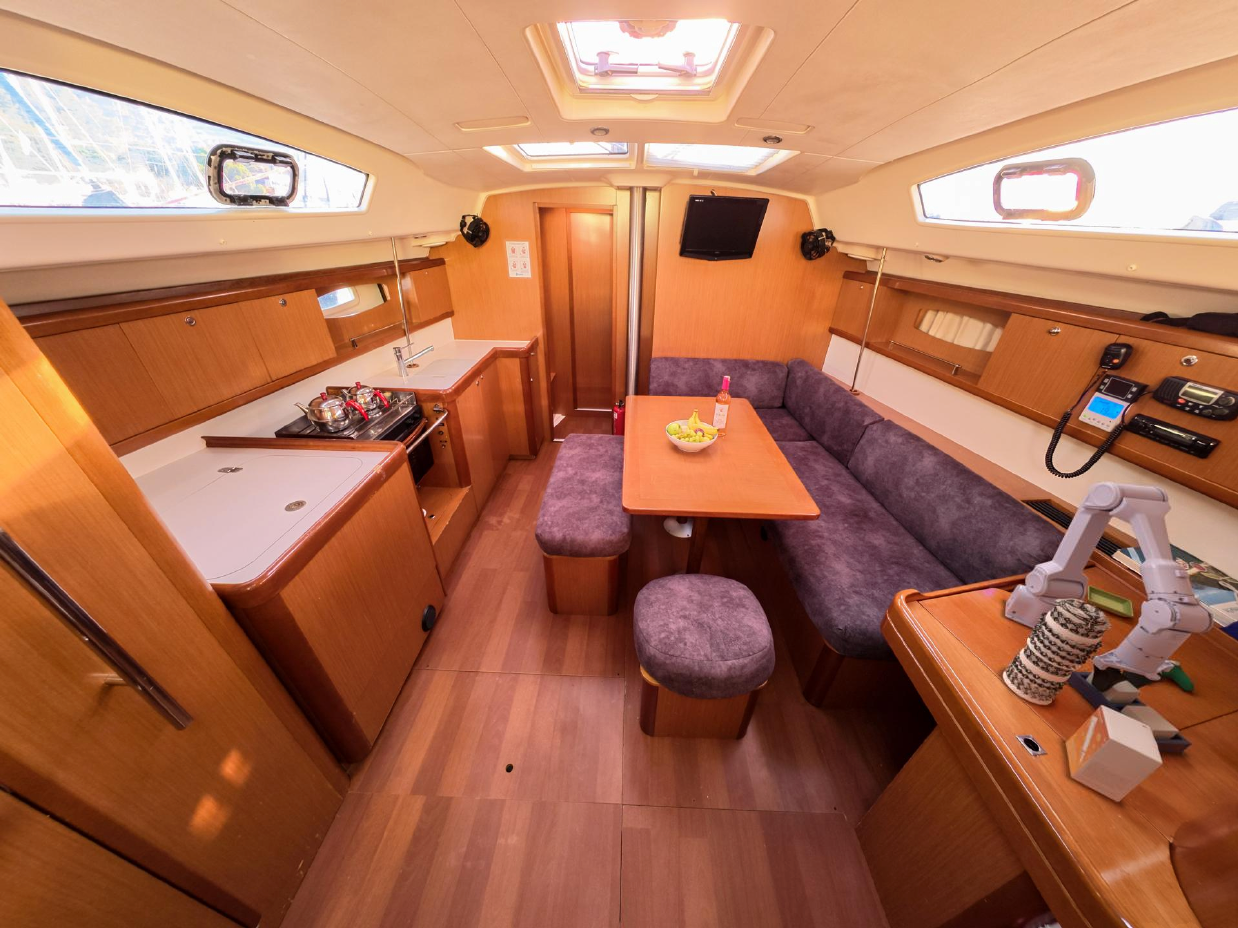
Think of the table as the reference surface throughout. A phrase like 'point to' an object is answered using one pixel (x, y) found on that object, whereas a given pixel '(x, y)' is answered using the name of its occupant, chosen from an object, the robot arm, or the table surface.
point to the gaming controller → (1179, 676)
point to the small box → (1112, 753)
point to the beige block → (1151, 721)
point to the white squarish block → (1118, 692)
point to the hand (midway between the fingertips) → (1109, 688)
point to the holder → (1096, 699)
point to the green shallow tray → (1110, 602)
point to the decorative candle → (1056, 650)
